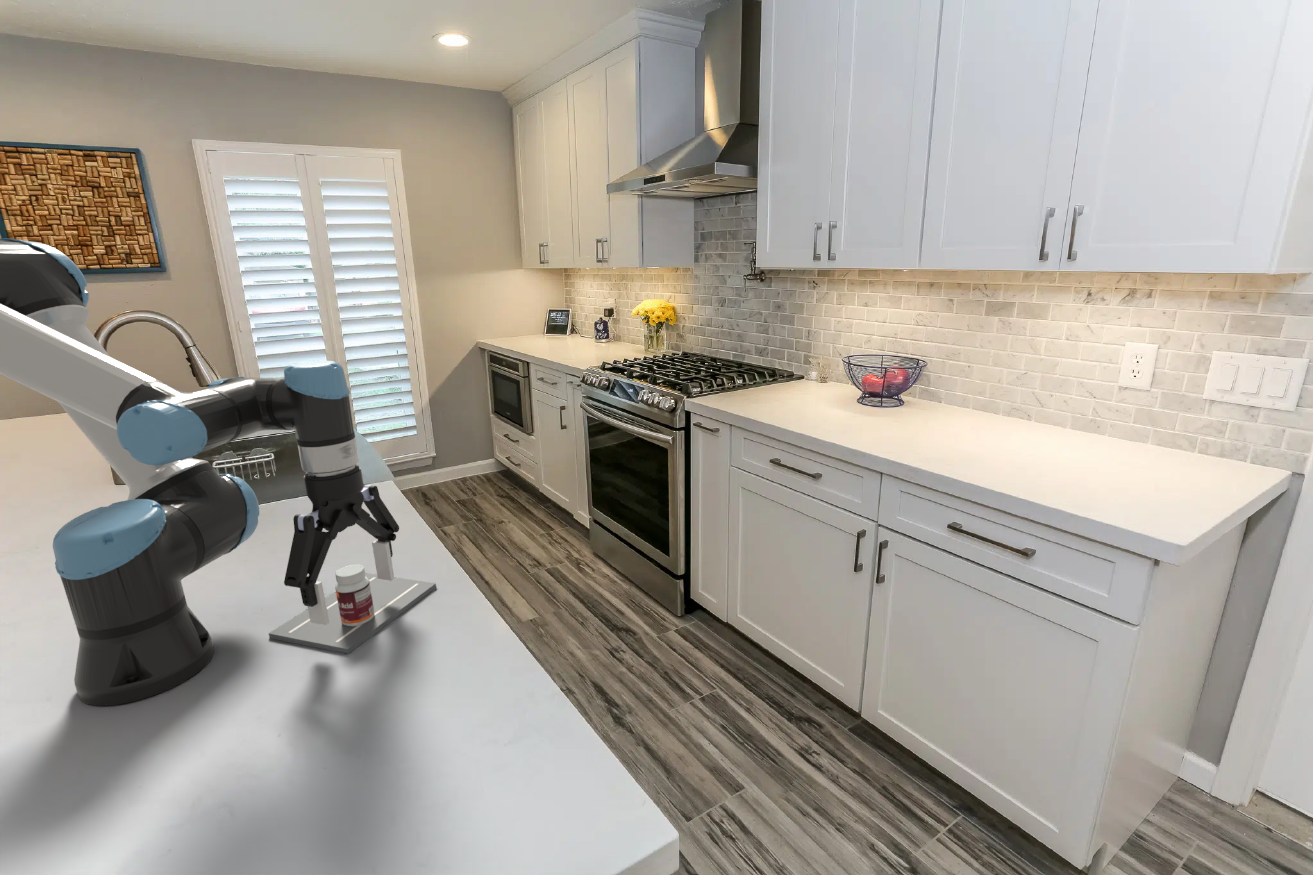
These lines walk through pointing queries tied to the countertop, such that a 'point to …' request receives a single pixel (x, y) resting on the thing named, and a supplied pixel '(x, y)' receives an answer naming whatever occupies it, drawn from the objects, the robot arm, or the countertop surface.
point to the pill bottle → (354, 595)
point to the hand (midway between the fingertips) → (355, 599)
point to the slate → (345, 639)
